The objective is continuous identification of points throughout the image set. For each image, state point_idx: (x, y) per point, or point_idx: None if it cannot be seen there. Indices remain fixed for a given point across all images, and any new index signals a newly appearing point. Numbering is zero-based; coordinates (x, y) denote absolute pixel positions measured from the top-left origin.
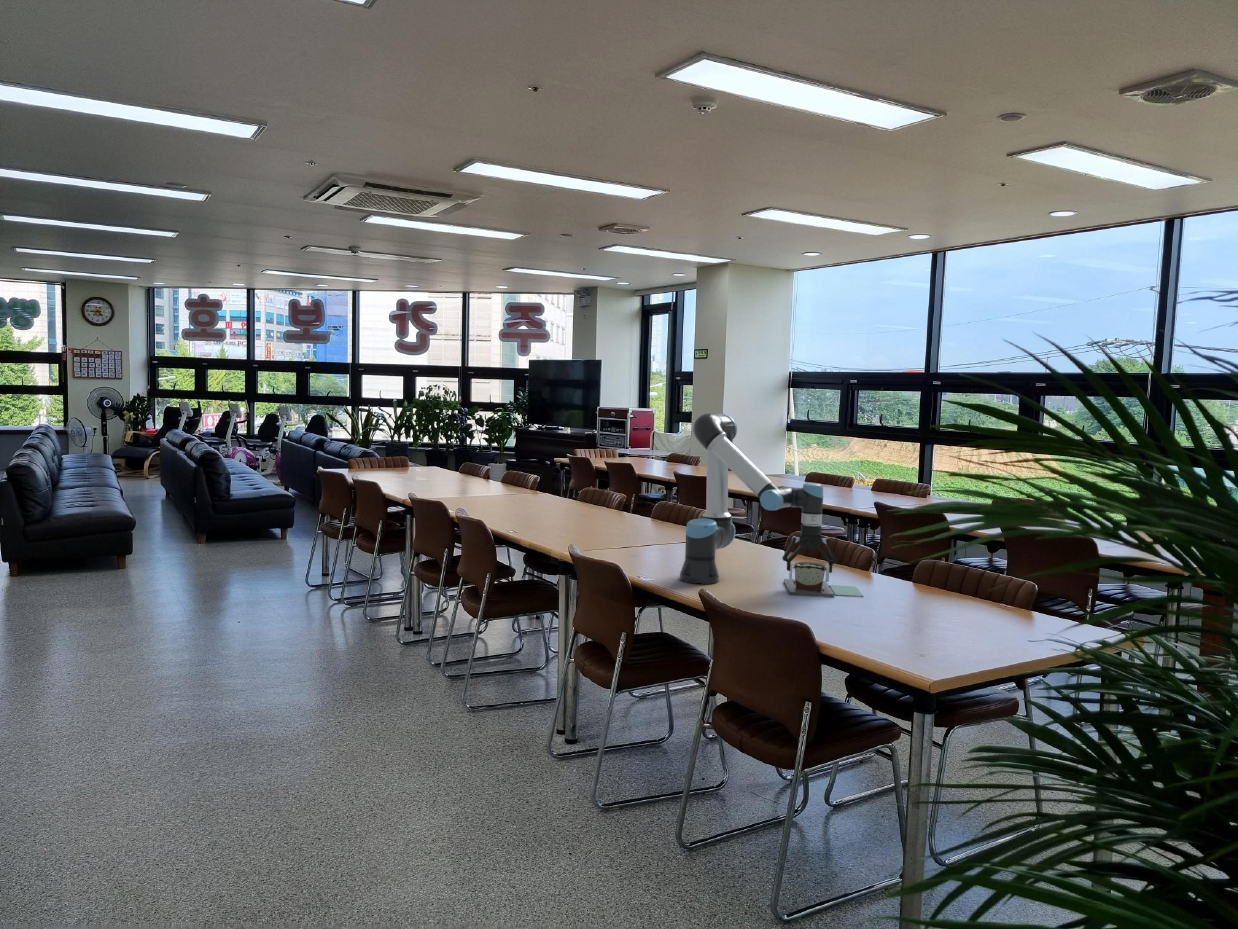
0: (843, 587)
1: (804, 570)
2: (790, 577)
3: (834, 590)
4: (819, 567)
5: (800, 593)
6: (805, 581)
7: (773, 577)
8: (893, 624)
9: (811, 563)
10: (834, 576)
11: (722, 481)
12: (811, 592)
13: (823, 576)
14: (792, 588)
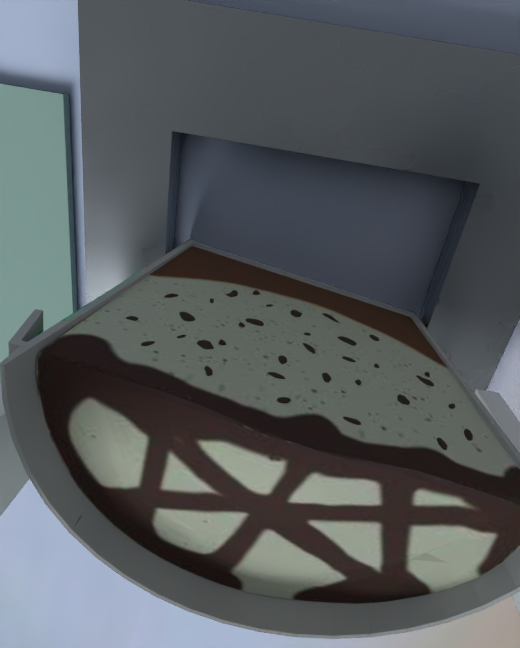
0: None
1: (376, 414)
2: (507, 410)
3: (57, 276)
4: (126, 402)
5: (491, 51)
6: (340, 328)
7: (414, 642)
8: None
9: (208, 595)
10: (21, 639)
11: None
12: (350, 54)
13: (115, 292)
14: (499, 255)
